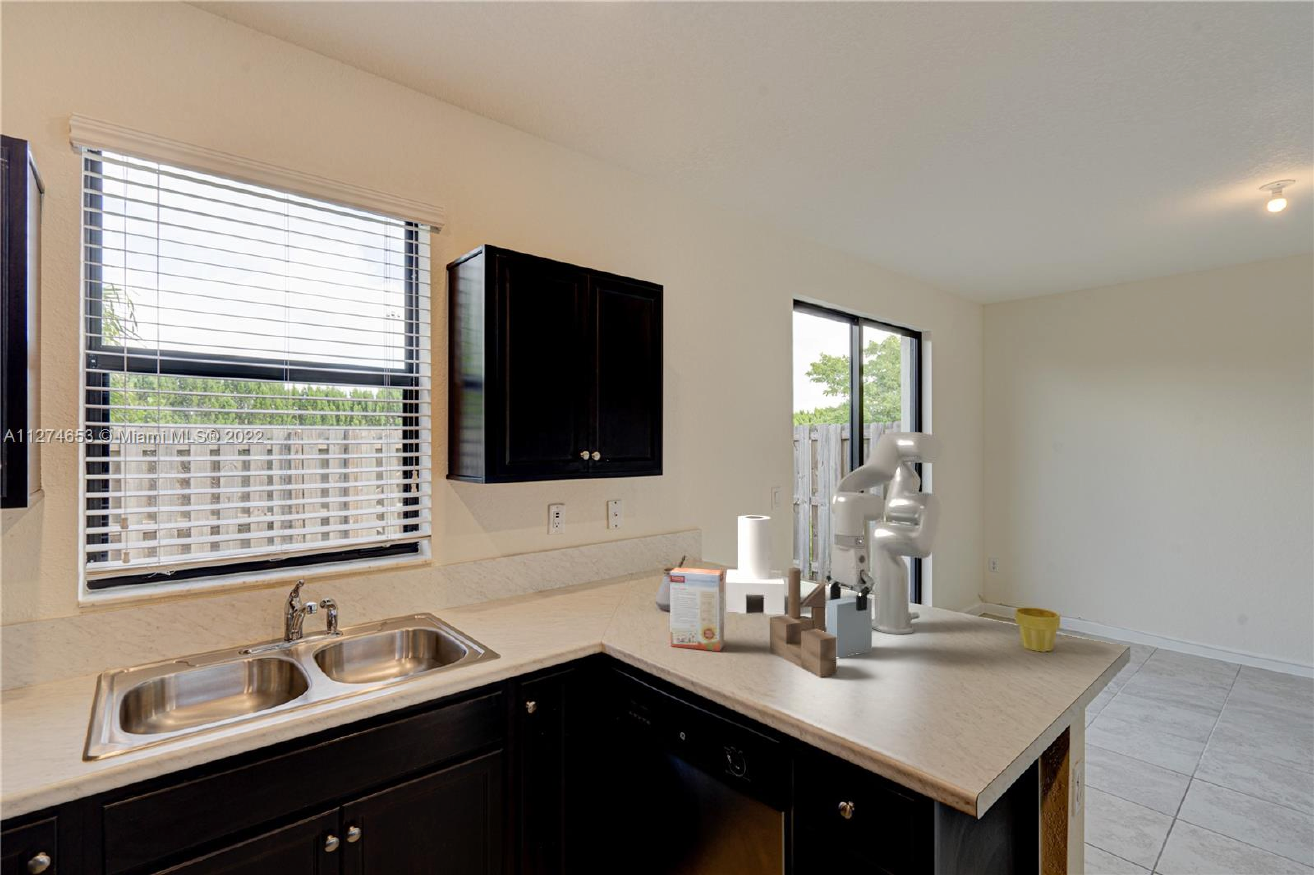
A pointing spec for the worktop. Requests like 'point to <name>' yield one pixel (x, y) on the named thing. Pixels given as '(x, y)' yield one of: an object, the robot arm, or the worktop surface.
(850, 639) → the pale blue tall box
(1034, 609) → the plant pot
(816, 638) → the walnut crosspiece
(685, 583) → the cracker box
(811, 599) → the wooden block structure
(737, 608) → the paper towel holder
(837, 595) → the robot arm
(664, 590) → the coffee pot
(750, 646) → the worktop surface
